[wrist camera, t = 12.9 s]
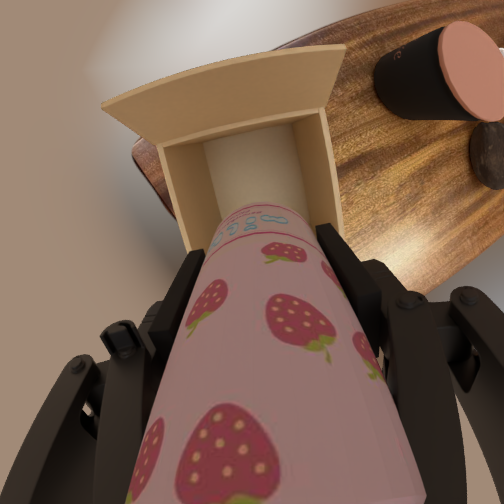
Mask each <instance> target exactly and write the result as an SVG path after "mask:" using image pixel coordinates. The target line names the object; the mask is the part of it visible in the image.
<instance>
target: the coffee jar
mask: <svg viewBox="0 0 504 504" xmlns="http://www.w3.org/2000/svg"><path fill="white" fill-rule="evenodd" d="M374 81H375V87H376V90H377V93H378V95H379V97H380V99H381V100H382V102H383V103H384V105H385V106H386V107H387V108H388V109H389V110H390V111H392V112H393V113H394V114H395V115H397V116H399V117H401V118H403V119H409V120H463V121H478V120H485V121H489V122H493V121H498V120H501V119H502V118H503V117H504V57H503V55H502V53H501V52H500V50H499V48H498V47H497V45H496V44H495V43H494V42H493V40H492V39H491V38H490V37H489V36H488V35H487V34H486V33H485V32H484V31H483V30H481V29H480V28H479V27H477V26H475V25H473V24H471V23H469V22H463V21H455V22H453V23H451V24H449V25H447V26H446V27H441V28H438V29H436V30H434V31H432V32H430V33H428V34H425V35H423V36H421V37H419V38H417V39H415V40H413V41H411V42H409V43H407V44H405V45H403V46H401V47H399V48H397V49H395V50H394V51H392V52H390V53H388V54H386V55H385V56H383V57H381V59H380V60H379V62H378V63H377V65H376V68H375V73H374Z"/></svg>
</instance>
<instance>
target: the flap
mask: <svg viewBox="0 0 504 504" xmlns="http://www.w3.org/2000/svg"><path fill="white" fill-rule="evenodd" d="M345 52H346V47H345V45H344V44H333V45H318V46H306V47H297V48H288V49H281V50H274V51H268V52H262V53H256V54H251V55H246V56H241V57H236V58H232V59H227V60H223V61H219V62H215V63H211V64H207V65H204V66H200V67H196V68H193V69H190V70H186V71H183V72H180V73H177V74H174V75H171V76H168V77H165V78H162V79H159V80H156V81H153V82H151V83H148V84H145V85H143V86H140V87H138V88H135V89H133V90H130V91H128V92H126V93H123V94H121V95H119V96H116V97H114V98H112V99H110V100H107V101H105V102H103V103H101V109H102V110H103V111H105V112H106V113H108V114H109V115H111V116H112V117H114V118H115V119H117V120H118V121H120V122H121V123H122V124H124V125H125V126H127V127H128V128H130V129H131V130H132V131H134V132H135V133H137V134H138V135H140V136H141V137H142V138H144V139H145V140H147V141H148V142H149V143H151V144H152V145H157V144H160V143H163V142H166V141H169V140H172V139H176V138H179V137H182V136H186V135H189V134H193V133H196V132H200V131H203V130H207V129H211V128H215V127H219V126H223V125H227V124H231V123H236V122H240V121H245V120H249V119H254V118H259V117H264V116H269V115H275V114H280V113H286V112H292V111H298V110H305V109H312V108H320V107H326V105H327V103H328V100H329V97H330V94H331V92H332V89H333V86H334V83H335V81H336V78H337V75H338V72H339V69H340V66H341V64H342V61H343V58H344V55H345Z"/></svg>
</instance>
